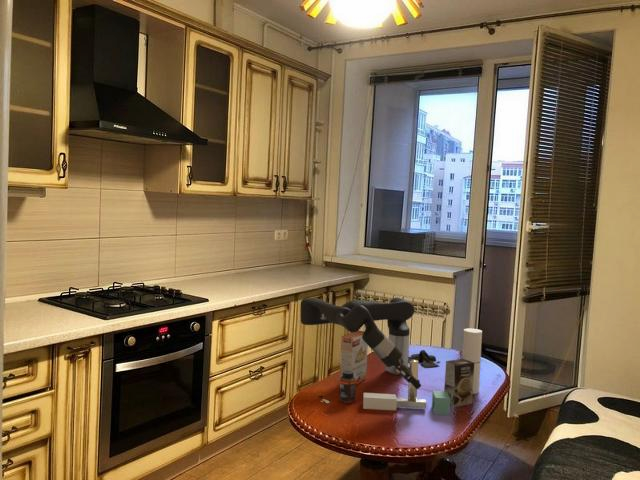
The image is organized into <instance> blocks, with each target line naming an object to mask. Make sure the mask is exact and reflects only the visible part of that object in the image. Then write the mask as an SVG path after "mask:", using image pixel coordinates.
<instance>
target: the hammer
mask: <svg viewBox="0 0 640 480" xmlns="http://www.w3.org/2000/svg"><path fill="white" fill-rule="evenodd" d="M408 367H409V370H410V371H411V374H412V375H413V376H414V378H415V379H416V380H417V381H418V380H419V375H418V374H419V363H418V360H410V363H408ZM409 378H410V376H409ZM409 378H408V379H409ZM407 389H408V390H407V398H406V397H396V398H397V405H396V408H404V409H405V408H406V409H422V410H423V409H424V410H426V409H427V400H426V399H423V398H418V389H416V388H415V387H414V386H413V385H412V384H411V383H409V382H408V388H407Z"/></svg>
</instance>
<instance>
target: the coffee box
mask: <svg viewBox="0 0 640 480" xmlns="http://www.w3.org/2000/svg"><path fill="white" fill-rule="evenodd" d="M473 378H474V363H473V362H471V361H468V360H465V359H462V358H460V359H451V360H450V359H449V360H446V361H445V373H444V388H443V389H444V390H443V391H446V392H447V393H448V395H449V397H450V407H453V408H456V407H462V406H468V405H472V404H473V395H474V394H473Z"/></svg>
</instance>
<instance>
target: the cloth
mask: <svg viewBox="0 0 640 480" xmlns="http://www.w3.org/2000/svg"><path fill="white" fill-rule="evenodd" d="M410 360H418V364H419V363H420V365H421V367H423V368H424V369H431V368H439V367H440V365H439V364H440V363H441V361H437V357H436V356H435V355H431V354H428V352H427V351H426V350H425V349H422V350H420V351H419V353H414V354H411V355H410V356H409V358H408V364H409V363H410Z"/></svg>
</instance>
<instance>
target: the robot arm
mask: <svg viewBox="0 0 640 480" xmlns="http://www.w3.org/2000/svg"><path fill="white" fill-rule="evenodd" d="M299 309H300V316H299V317H300V323H301V324H302V325H303V326H317V325H326V324H334V325H338V326H341V327H343V328H344V329H345V330H347V331H348V332H349V333H352V332H357V331H358V330H359V331H360V330H361V328H362V327H363V326H364V328H365V329H364V333H363V335H362V339H363V340H364V342H365V343H366V344H367V345H368V348H370V349H371V350H372V351H373V353H374V354H375V355H376V357H377V358H378V359H379V360H381V362H382V364H384V365H385V371H386V372H387V373H389V374H392V375H398V376H399V375H400V376H401V378H403V379H404V380H405V381H406V382H407V383H408V384H409V383H411V384H412V385H413V386H414V387H415V388H416V389H417V390H419V389H420V388H421V387H422V384H421V381H420V379H418V381H417V380H416V379H415V378H414V376H413V375H412V374H411V371H410V370H409V363H408V358H409V357H410V356H409V354H410V333H411V332H410V327H409V325H408V323H407V321H408V320H410V319H411V318H412V317H414V314H415V307H414V304H412V302H411V301H409V300H407V299H406V298H405V299H404V298H401V297H394V298H392V299H390V300H389V302H377V301H371V300H364V299H363V300H361V299H359V300H349V301H347V302H345V303H343V304H342V305H341V306H339V305H334V304H332V303H330V302H327V301H325V300H322V299H320V298H315V297H308V298H303V299H301V301H300V308H299ZM375 321H387V322H386V323H387V328H388V329H387V330H388V337H387V336H386V334H385V333H384V332H382V331H381V330H380V329H379V327H378V326H377V324H376V323H375ZM409 376H410V378H409Z"/></svg>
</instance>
